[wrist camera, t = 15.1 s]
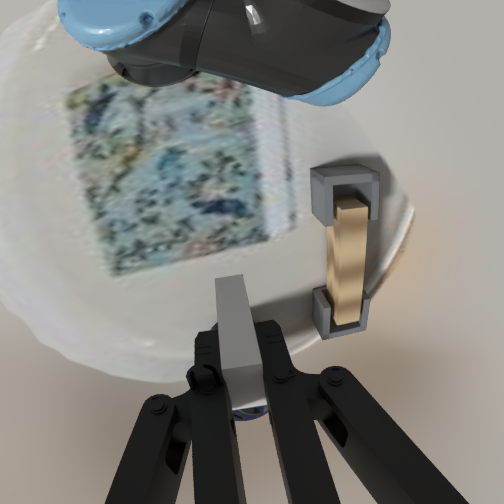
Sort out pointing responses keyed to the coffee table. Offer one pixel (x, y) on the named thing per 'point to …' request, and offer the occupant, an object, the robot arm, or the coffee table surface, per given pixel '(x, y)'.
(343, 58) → the robot arm
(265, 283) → the coffee table surface
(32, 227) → the coffee table surface
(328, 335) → the endcap
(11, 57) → the coffee table surface
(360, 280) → the slat
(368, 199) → the endcap
